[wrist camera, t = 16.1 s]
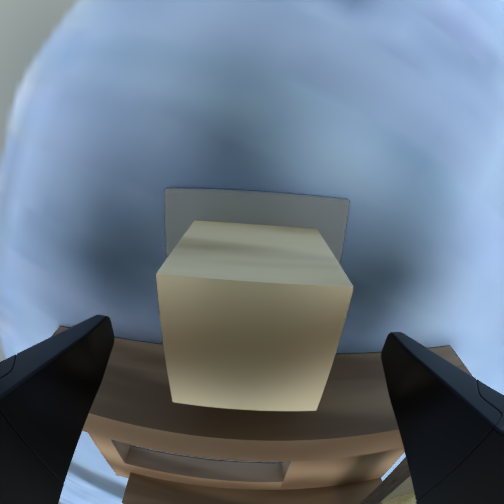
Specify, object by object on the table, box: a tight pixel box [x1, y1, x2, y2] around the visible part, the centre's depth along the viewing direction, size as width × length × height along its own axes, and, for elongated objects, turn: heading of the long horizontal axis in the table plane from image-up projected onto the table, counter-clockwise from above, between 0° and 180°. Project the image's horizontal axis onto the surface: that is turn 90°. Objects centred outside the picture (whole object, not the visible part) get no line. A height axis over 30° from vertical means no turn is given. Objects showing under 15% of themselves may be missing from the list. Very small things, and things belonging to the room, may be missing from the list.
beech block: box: [156, 221, 354, 411], centre depth 10 cm, size 5×5×5 cm
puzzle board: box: [51, 326, 473, 504], centre depth 15 cm, size 17×24×6 cm
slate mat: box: [164, 188, 350, 264], centre depth 13 cm, size 8×8×1 cm
